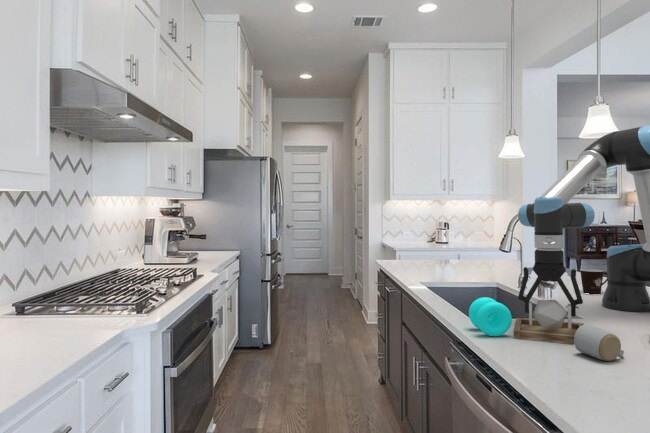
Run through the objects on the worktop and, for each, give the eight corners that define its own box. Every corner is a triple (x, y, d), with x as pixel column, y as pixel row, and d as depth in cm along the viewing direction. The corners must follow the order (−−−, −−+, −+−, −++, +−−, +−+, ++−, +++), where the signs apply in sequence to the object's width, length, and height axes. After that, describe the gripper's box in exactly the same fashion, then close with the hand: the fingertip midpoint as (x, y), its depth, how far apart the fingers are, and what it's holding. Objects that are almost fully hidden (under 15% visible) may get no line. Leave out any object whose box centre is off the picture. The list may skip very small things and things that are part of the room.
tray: (583, 330, 130) (583, 323, 130) (589, 346, 116) (589, 338, 116) (516, 324, 139) (516, 317, 139) (513, 338, 124) (513, 330, 124)
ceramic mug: (600, 364, 102) (601, 332, 102) (572, 353, 110) (573, 324, 110) (633, 360, 105) (633, 329, 105) (604, 350, 113) (604, 321, 113)
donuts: (478, 337, 125) (478, 303, 125) (467, 328, 135) (467, 296, 135) (513, 337, 125) (513, 302, 125) (500, 328, 135) (499, 296, 135)
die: (565, 334, 121) (576, 304, 124) (536, 319, 123) (548, 289, 126) (551, 337, 129) (562, 309, 132) (523, 322, 130) (535, 294, 133)
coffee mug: (583, 295, 184) (583, 271, 183) (577, 291, 192) (577, 268, 192) (615, 296, 180) (614, 272, 180) (608, 292, 188) (607, 269, 188)
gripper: (507, 249, 128) (508, 325, 129) (594, 251, 119) (595, 333, 119) (508, 247, 135) (509, 319, 135) (591, 249, 125) (592, 326, 126)
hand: (549, 325), depth 127 cm, fingers closed on die, 9 cm apart
